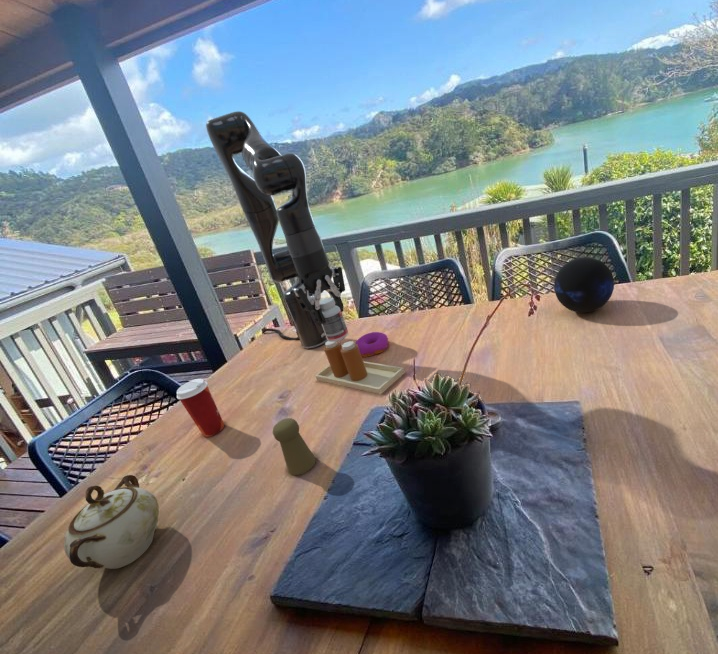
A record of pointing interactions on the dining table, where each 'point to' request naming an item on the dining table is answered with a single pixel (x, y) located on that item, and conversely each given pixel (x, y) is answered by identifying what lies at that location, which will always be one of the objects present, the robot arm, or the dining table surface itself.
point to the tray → (373, 382)
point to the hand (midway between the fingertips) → (331, 317)
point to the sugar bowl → (112, 526)
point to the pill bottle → (333, 320)
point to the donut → (372, 343)
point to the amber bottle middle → (353, 361)
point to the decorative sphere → (584, 285)
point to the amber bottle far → (335, 358)
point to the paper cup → (201, 406)
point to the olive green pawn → (293, 447)
